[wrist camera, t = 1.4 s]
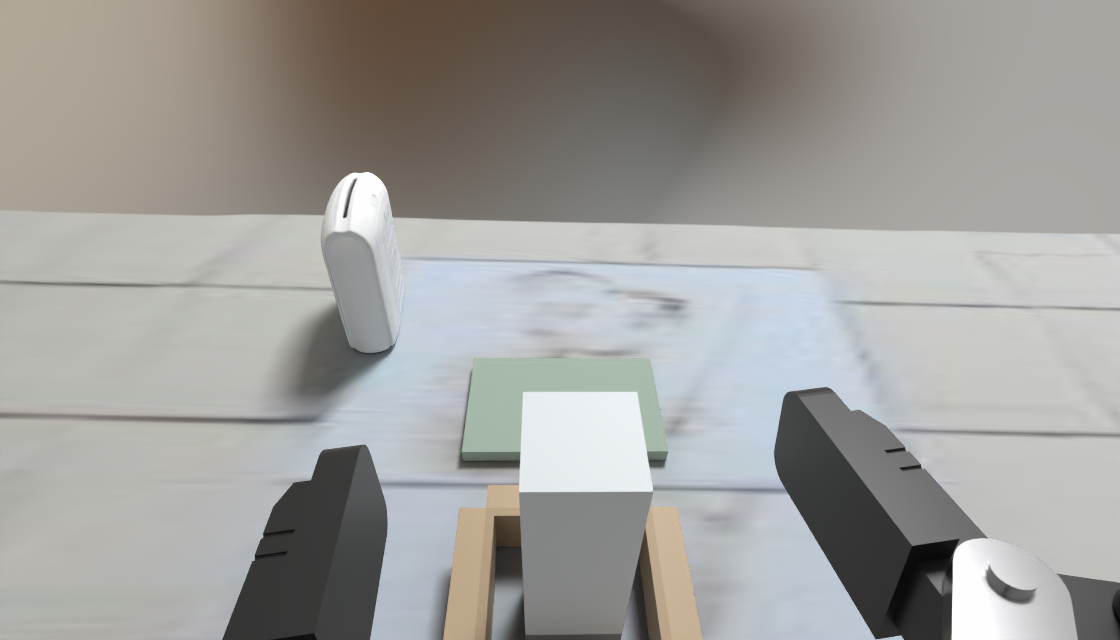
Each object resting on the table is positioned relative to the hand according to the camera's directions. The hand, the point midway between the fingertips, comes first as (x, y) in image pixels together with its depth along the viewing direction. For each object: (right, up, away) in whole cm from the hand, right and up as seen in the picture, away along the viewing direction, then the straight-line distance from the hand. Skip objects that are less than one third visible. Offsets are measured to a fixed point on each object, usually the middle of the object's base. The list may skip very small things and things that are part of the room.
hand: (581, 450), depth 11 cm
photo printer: (-16, +3, +40) cm, 44 cm away
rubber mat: (0, -4, +32) cm, 32 cm away
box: (0, -14, +21) cm, 25 cm away
